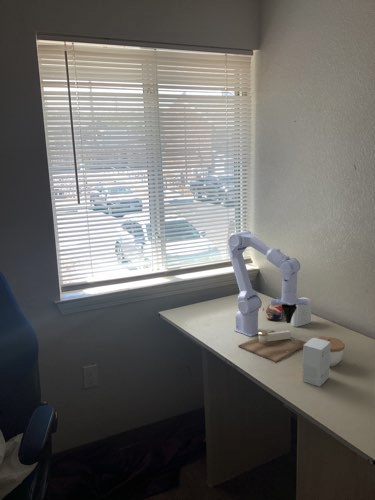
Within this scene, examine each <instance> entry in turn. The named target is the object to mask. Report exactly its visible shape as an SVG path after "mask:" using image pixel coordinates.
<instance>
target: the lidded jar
mask: <svg viewBox="0 0 375 500" xmlns="http://www.w3.org/2000/svg"><path fill="white" fill-rule="evenodd" d="M317 338H318V339H322V340H326V341H329V342H331V346H330V365H329V367H335V366H337V365H338V364H339V363H340V362H341V361H342V360H343V357H344V354H345V347H346V345H345V342H343V341H342V340H340V339H338V338H335V337H331V336H320V337H317Z"/></svg>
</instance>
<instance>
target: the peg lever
mask: <svg viewBox="0 0 375 500" xmlns="http://www.w3.org/2000/svg"><path fill="white" fill-rule="evenodd" d="M260 330H261V329H260ZM268 332H269V331H267V330H263V329H262V330H261V331H258V334H257V335H258V337H259V343H261V344H265V343H267V342H268V341H276V340H283V339H290V337H292V336H291V335H292V334H291V333H292V332H291V331H290V330H289V329H288V330H281V331H275V332H272V333H268Z"/></svg>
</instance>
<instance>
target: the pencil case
mask: <svg viewBox="0 0 375 500" xmlns="http://www.w3.org/2000/svg"><path fill="white" fill-rule="evenodd" d="M265 314H266V319H267V320H273V321H275V320H282V318H283V314H284V311H283V308H282V306H281V305H273V306H271V305H270V303H269V304H268V307H267V308H266V310H265Z"/></svg>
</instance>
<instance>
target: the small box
mask: <svg viewBox="0 0 375 500" xmlns="http://www.w3.org/2000/svg"><path fill="white" fill-rule="evenodd" d="M318 338H319V337H311V338H310V339H309V340H308V341H307V343H305V344H304V345H303V348H302V349H303V350H302V373H301V376H302V378H301V381H302V382H303V383H307V384H310V385H313V386H315V387H316V386H317V387H319V388H320V387H321V386H322V385H323V384H324V383H326V381H327V380H328V379H329V378H330V366H329V365H330V346H331V342H329V341H326V340H322V339H318Z"/></svg>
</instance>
